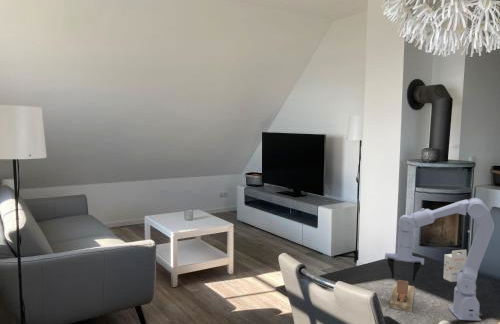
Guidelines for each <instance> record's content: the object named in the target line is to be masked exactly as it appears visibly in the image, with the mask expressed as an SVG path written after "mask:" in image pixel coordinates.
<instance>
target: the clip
mask: <svg viewBox="0 0 500 324" xmlns="http://www.w3.org/2000/svg"><path fill="white" fill-rule="evenodd" d="M396 283H397V293H399V298H400V302H404V299H405V294H407V295H408V285H409V281H408V280H402V279H397V282H396Z"/></svg>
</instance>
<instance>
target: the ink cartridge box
mask: <svg viewBox="0 0 500 324" xmlns="http://www.w3.org/2000/svg"><path fill="white" fill-rule="evenodd" d="M467 251H468V250H467V249H456V250H452V251H451V253H448V254H446V253H445V254H444V255H443V257H444V258H443V259H444V260H443V276H442V277H443V279H444V280H446V281H448V282H449V283H454V282H456V283H457V281H456V274H457V273H458V272H459V271H460V270H461V269H462V266H463V265H464V264H465V261H466V259H467V256H468V254H467V253H468V252H467Z"/></svg>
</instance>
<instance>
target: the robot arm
mask: <svg viewBox="0 0 500 324" xmlns="http://www.w3.org/2000/svg"><path fill="white" fill-rule="evenodd" d="M454 214H455V215H456V214H459V215H463V216H467V214H468V215H469V216H470V218H472V219H473V220H474V221H475V222H476V223H477V225H478V227H477V229H476V232H475V235H474V238H473V241H472V243H471V246H470V249H469V251H468V252H467V253H468V254H467V259H466V261H465V264H464V265H463V266H462V269H461V270H460V271H459V272H458V273H457V274H456V286H455V287H454V290H453V305H452V306H451V307H450V306H449V307H448V310H449V311H450V312H451V313H452V314H453V315H454V316H455V318H457V319H458V320H459V321H475V322H477V321H479V322H480V321H482V319H481V317H480V308H481V307H480V302H479V300H478V298H477V296H476V295H477V283H476V282H477V279H478V272H479V269H480V266H481V264H482V262H483V258H484V256H485V254H486V251H487V248H488V245H489V244H490V240H491V238H492V237H493V233H494V230H495V223H494V219H493V217H492V214H491V211H490V209H489V207H488V206H487V205H486V204H485V203H484V201H483V200H482V199H480V198H478V197H472V198H469V199H463V200H459V201H456V202H454V203H450V204H448V205H445V206H442V207H439V208H435V209H433V210H432V209H430V208H424V207H423V208H420V210H418V211H415V212H409V213H408V214H402V215H401V216H400V217H399V219H398V222H397V226H398V230H397V231H398V232H397V242H396V243H397V244H396V253H388V252H387V253H385V254H384V260H387V265H388V267H389V269H390V273H391V279H394V278H395V263H396V262H395V261H400V262H406V263H407V262H409V263H413V272H412V273H413V275H412V282H416V281H415V280H416V276H417V274H418V272H419V270H420V269H421V265H423V266H424V264H425V258H424V257H420V256H414V255H413V252H414V251H413V247H414V233H413V232H414V229H415V228H420V227H424V226H427V225H430V224H433V223H434V222H435V220H436V219H439V218H443V217H447V216H451V215H454Z"/></svg>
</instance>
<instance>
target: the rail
mask: <svg viewBox="0 0 500 324" xmlns="http://www.w3.org/2000/svg"><path fill="white" fill-rule="evenodd" d="M414 296H415V286H414V285H409V284H408V295H407V294H405V299H404V302H400V298H399V293H397V282H396V283H395V282H394V285H393V290H392V293H391V297H390V301H389V308H390V309H396V310H399V311H400V310H401V311H405V312H413V304H414Z"/></svg>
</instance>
